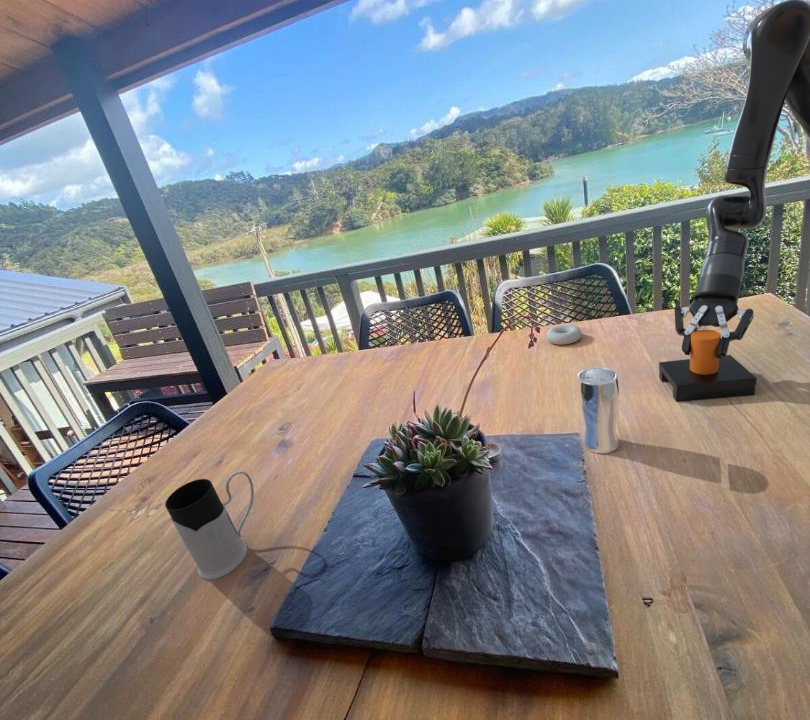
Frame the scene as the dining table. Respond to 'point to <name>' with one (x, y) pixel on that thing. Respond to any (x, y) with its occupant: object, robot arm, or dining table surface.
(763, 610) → the dining table surface
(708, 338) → the candle
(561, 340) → the donut
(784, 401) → the dining table surface
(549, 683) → the dining table surface
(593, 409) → the silver metal tumbler
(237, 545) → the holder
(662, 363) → the black display riser
